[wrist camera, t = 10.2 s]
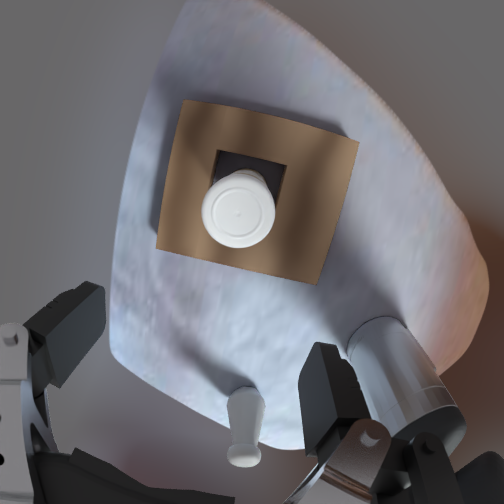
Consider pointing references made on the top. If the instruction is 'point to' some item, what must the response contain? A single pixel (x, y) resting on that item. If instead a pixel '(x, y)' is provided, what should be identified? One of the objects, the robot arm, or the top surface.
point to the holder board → (288, 198)
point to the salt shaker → (245, 426)
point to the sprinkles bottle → (239, 209)
